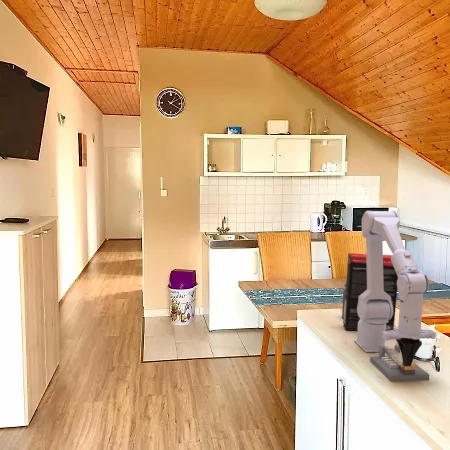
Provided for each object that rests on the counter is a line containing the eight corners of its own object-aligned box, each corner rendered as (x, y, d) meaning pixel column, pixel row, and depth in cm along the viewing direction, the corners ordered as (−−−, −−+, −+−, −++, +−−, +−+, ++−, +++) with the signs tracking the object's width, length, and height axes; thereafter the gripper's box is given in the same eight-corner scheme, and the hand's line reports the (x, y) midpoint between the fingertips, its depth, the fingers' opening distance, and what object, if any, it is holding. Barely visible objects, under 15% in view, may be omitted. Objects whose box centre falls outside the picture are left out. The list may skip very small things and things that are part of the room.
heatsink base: (369, 361, 137) (371, 345, 136) (404, 359, 139) (405, 344, 138) (391, 381, 124) (392, 363, 124) (429, 379, 126) (430, 362, 125)
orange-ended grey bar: (384, 351, 137) (384, 348, 137) (393, 351, 137) (393, 348, 137) (404, 369, 125) (405, 366, 125) (415, 369, 125) (415, 366, 125)
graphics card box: (390, 327, 167) (395, 253, 163) (395, 334, 160) (401, 257, 156) (342, 324, 168) (346, 251, 165) (345, 331, 162) (349, 255, 158)
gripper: (392, 321, 120) (389, 371, 122) (443, 320, 122) (440, 369, 124) (379, 313, 127) (377, 360, 129) (428, 312, 129) (425, 358, 131)
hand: (407, 363), depth 127 cm, fingers closed, pressing on orange-ended grey bar
